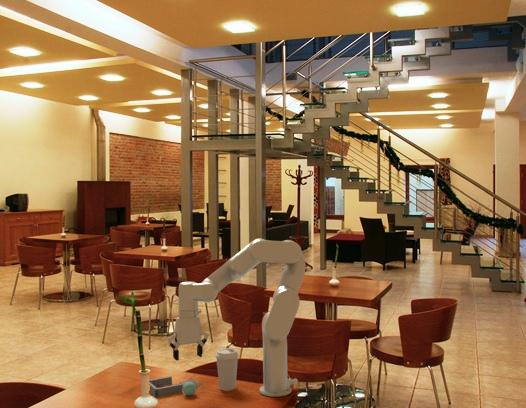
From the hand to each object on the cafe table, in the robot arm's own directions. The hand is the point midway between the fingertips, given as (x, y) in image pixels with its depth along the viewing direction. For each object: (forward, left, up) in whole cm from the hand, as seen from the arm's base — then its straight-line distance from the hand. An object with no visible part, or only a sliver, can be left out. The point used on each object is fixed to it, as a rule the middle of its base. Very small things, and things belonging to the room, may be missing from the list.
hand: (188, 357), depth 211 cm
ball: (0, 0, -12) cm, 12 cm away
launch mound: (-5, -11, -26) cm, 29 cm away
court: (+6, -11, -14) cm, 19 cm away
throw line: (+4, -11, -14) cm, 18 cm away
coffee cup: (-16, +1, -15) cm, 22 cm away
